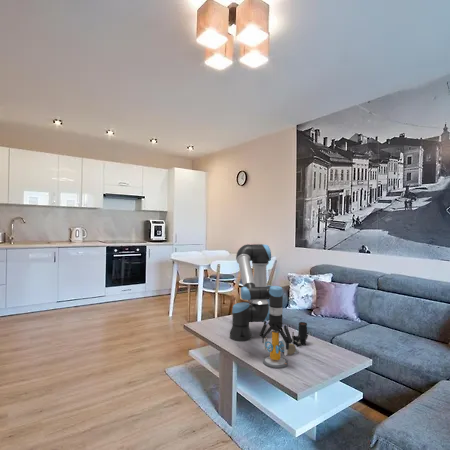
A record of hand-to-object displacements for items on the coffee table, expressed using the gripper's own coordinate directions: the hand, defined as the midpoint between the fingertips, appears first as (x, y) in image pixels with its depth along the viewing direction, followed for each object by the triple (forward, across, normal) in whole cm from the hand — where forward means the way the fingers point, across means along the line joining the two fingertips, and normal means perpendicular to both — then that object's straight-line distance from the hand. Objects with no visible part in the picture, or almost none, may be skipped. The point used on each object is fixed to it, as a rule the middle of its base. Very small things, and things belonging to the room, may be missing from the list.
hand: (275, 351), depth 173 cm
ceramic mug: (+6, +1, +18) cm, 19 cm away
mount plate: (+6, 0, 0) cm, 6 cm away
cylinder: (+4, 0, 0) cm, 4 cm away
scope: (+6, +2, +35) cm, 36 cm away
